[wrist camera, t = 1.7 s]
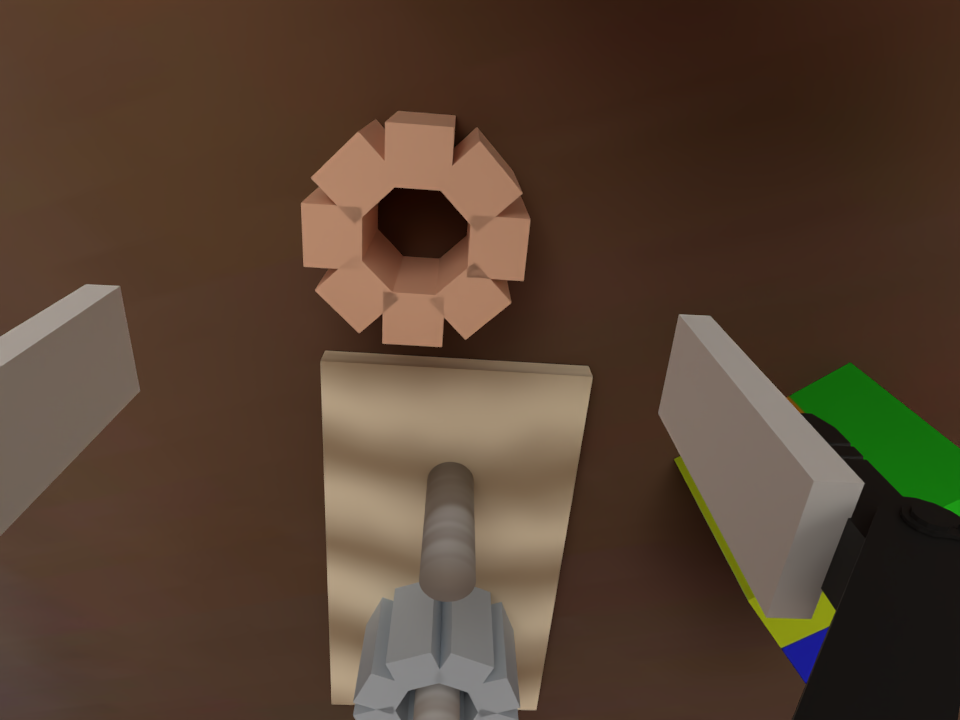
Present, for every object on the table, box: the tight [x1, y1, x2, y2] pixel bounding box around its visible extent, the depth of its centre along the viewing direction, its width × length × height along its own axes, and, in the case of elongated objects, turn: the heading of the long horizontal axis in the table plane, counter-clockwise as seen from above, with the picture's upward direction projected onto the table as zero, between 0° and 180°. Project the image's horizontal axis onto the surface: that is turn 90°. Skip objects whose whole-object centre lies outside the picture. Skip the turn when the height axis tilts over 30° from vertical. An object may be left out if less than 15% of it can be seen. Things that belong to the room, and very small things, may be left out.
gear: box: [353, 582, 520, 720], centre depth 36 cm, size 8×8×5 cm
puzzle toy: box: [674, 362, 960, 683], centre depth 31 cm, size 10×10×10 cm
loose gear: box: [301, 111, 531, 347], centre depth 26 cm, size 8×8×5 cm
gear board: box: [320, 351, 593, 720], centre depth 33 cm, size 24×13×8 cm, turn 176°
